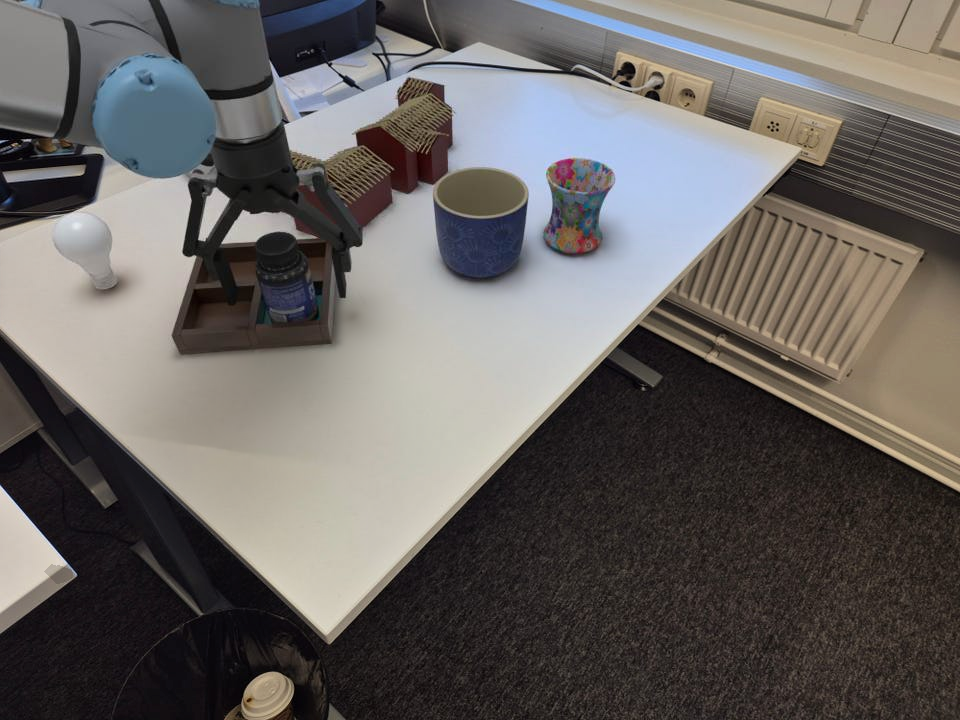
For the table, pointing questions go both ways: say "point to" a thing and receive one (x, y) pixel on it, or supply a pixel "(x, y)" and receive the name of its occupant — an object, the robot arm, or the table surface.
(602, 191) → the floral vase
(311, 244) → the wooden box
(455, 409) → the table surface
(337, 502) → the table surface
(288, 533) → the table surface
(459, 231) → the planter
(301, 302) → the pill bottle
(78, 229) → the lightbulb
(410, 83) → the toy houses
